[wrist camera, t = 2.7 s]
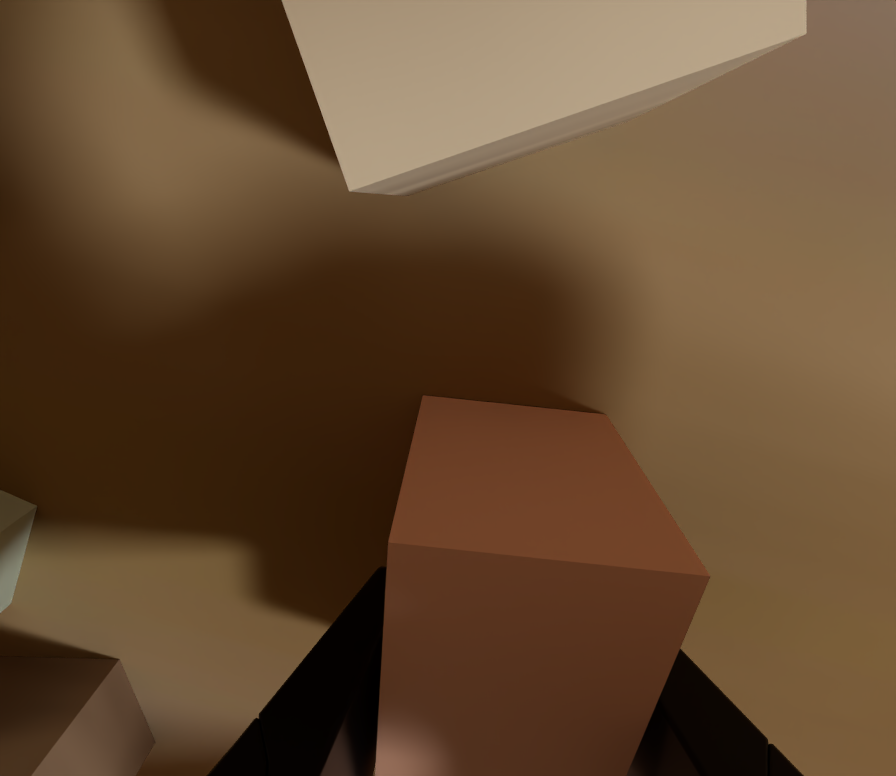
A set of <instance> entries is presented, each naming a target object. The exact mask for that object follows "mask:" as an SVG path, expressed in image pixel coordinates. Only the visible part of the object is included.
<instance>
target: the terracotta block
mask: <svg viewBox="0 0 896 776" xmlns="http://www.w3.org/2000/svg"><path fill="white" fill-rule="evenodd" d="M709 579H710V575H709V573H708V572H707V570H706V569H705V567H704V565H703V564H702V562H701V561H700V559H699V558H698V556H697V555H696V553H695V552H694V550H693V548H692V547H691V545H690V544H689V542H688V541H687V539H686V538H685V536H684V534H683V533H682V531H681V530H680V528H679V527H678V525H677V524H676V522H675V521H674V519H673V517H672V516H671V514H670V513H669V511H668V510H667V508H666V507H665V505H664V504H663V502H662V500H661V499H660V497H659V496H658V494H657V493H656V491H655V490H654V488H653V486H652V485H651V483H650V482H649V480H648V479H647V477H646V476H645V474H644V473H643V471H642V469H641V468H640V466H639V465H638V463H637V462H636V460H635V459H634V457H633V456H632V454H631V452H630V451H629V449H628V448H627V446H626V445H625V443H624V442H623V440H622V438H621V437H620V435H619V434H618V432H617V431H616V429H615V428H614V426H613V425H612V423H611V421H610V420H609V418H608V417H607V415H606V414H597V413H588V412H578V411H569V410H559V409H550V408H540V407H531V406H521V405H511V404H502V403H492V402H483V401H473V400H464V399H454V398H445V397H435V396H425V395H423V396H422V401H421V405H420V409H419V413H418V418H417V422H416V426H415V430H414V435H413V439H412V443H411V447H410V452H409V456H408V460H407V464H406V469H405V473H404V477H403V481H402V486H401V490H400V494H399V498H398V502H397V507H396V511H395V515H394V519H393V524H392V528H391V532H390V536H389V541H388V553H387V571H386V589H385V607H384V625H383V642H382V660H381V678H380V696H379V714H378V732H377V750H376V767H375V776H626V775H627V773H628V770H629V768H630V765H631V763H632V761H633V758H634V756H635V754H636V751H637V749H638V747H639V744H640V742H641V739H642V737H643V735H644V732H645V730H646V728H647V725H648V723H649V721H650V718H651V716H652V713H653V711H654V709H655V706H656V704H657V702H658V699H659V697H660V695H661V692H662V690H663V687H664V685H665V683H666V680H667V678H668V676H669V673H670V671H671V668H672V666H673V664H674V661H675V659H676V657H677V654H678V652H679V650H680V647H681V645H682V642H683V640H684V638H685V635H686V633H687V631H688V628H689V626H690V624H691V621H692V619H693V616H694V614H695V612H696V609H697V607H698V605H699V602H700V600H701V598H702V595H703V593H704V590H705V588H706V586H707V583H708V581H709Z"/></svg>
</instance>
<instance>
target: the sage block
mask: <svg viewBox="0 0 896 776" xmlns="http://www.w3.org/2000/svg"><path fill="white" fill-rule="evenodd" d="M36 509H37V506H36V505H34V504H32V503H29V502H27V501H25V500H23V499H20V498H18V497H16V496H13V495H11V494H9V493H7V492H4V491H2V490H0V613H1V612H2V611H3V610H4V609H5V608H6V607H8V606H9V605H10V604H11V602H12V598H13V594H14V590H15V587H16V583H17V579H18V576H19V572H20V568H21V564H22V561H23V557H24V553H25V550H26V546H27V542H28V539H29V535H30V531H31V527H32V524H33V520H34V516H35V513H36Z"/></svg>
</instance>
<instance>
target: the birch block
mask: <svg viewBox="0 0 896 776" xmlns="http://www.w3.org/2000/svg"><path fill="white" fill-rule="evenodd" d="M282 3H283V6H284V8H285V11H286V14H287V17H288V20H289V22H290V25H291V28H292V31H293V34H294V37H295V39H296V42H297V45H298V48H299V51H300V54H301V56H302V59H303V62H304V65H305V68H306V70H307V73H308V76H309V79H310V82H311V85H312V87H313V90H314V93H315V96H316V99H317V102H318V104H319V107H320V110H321V113H322V116H323V118H324V121H325V124H326V127H327V130H328V133H329V135H330V138H331V141H332V144H333V147H334V150H335V152H336V155H337V158H338V161H339V164H340V166H341V169H342V172H343V175H344V178H345V181H346V183H347V186H348V189H349V191H350V192H363V193H375V194H388V195H400V196H409V195H411V194H414V193H417V192H420V191H423V190H426V189H429V188H432V187H435V186H438V185H441V184H444V183H447V182H450V181H453V180H456V179H459V178H462V177H465V176H468V175H471V174H474V173H477V172H480V171H483V170H486V169H489V168H492V167H495V166H498V165H501V164H504V163H507V162H509V161H512V160H515V159H518V158H521V157H524V156H527V155H530V154H533V153H536V152H539V151H542V150H545V149H548V148H551V147H554V146H557V145H560V144H563V143H566V142H569V141H572V140H575V139H578V138H581V137H584V136H587V135H590V134H593V133H596V132H599V131H602V130H605V129H607V128H610V127H613V126H616V125H619V124H622V123H625V122H628V121H630V120H632V119H634V118H636V117H638V116H640V115H642V114H644V113H646V112H648V111H650V110H652V109H654V108H656V107H659V106H661V105H663V104H665V103H667V102H669V101H671V100H673V99H675V98H677V97H679V96H681V95H683V94H685V93H687V92H689V91H691V90H693V89H695V88H697V87H699V86H701V85H703V84H705V83H707V82H709V81H711V80H713V79H715V78H717V77H720V76H722V75H724V74H726V73H728V72H730V71H732V70H734V69H736V68H738V67H740V66H742V65H744V64H746V63H748V62H750V61H752V60H754V59H756V58H758V57H760V56H762V55H764V54H766V53H768V52H770V51H772V50H774V49H776V48H778V47H780V46H783V45H785V44H787V43H789V42H791V41H793V40H795V39H797V38H799V37H801V36H803V35H805V34H806V0H282Z"/></svg>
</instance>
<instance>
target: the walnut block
mask: <svg viewBox="0 0 896 776" xmlns="http://www.w3.org/2000/svg"><path fill="white" fill-rule="evenodd" d="M154 743H155V740H154V738H153V736H152V733H151V731H150V729H149V726H148V724H147V722H146V719H145V717H144V715H143V712H142V710H141V708H140V705H139V703H138V701H137V698H136V696H135V694H134V692H133V689H132V687H131V685H130V682H129V680H128V678H127V675H126V673H125V671H124V668H123V666H122V664H121V661H120V659H89V658H51V657H13V656H0V776H136V775H137V773H138V771H139V769H140V768H141V766H142V764H143V762H144V761H145V759H146V757H147V756H148V754H149V752H150V750H151V749H152V747H153V745H154Z"/></svg>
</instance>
